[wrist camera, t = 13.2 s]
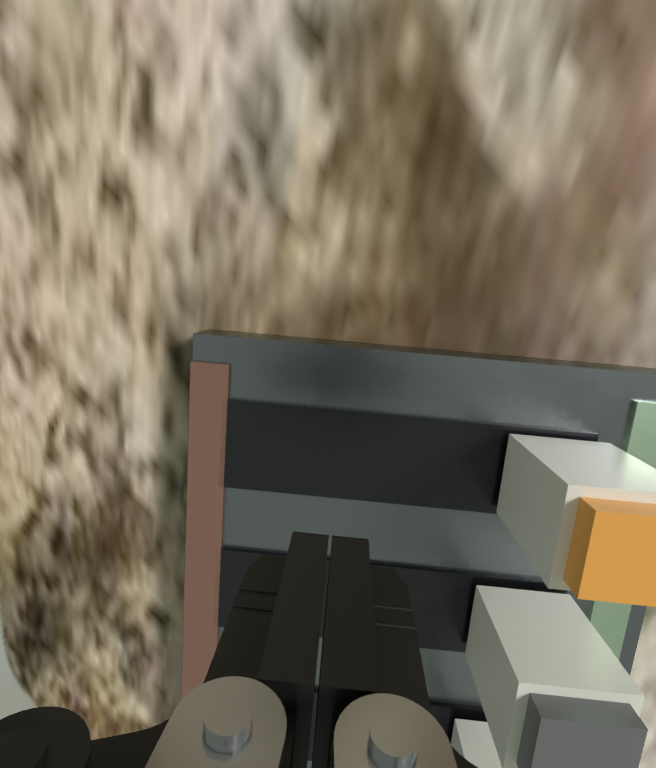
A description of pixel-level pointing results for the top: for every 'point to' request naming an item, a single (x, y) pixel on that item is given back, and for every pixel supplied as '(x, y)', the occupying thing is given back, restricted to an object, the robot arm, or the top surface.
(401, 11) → the top surface
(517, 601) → the breaker
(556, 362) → the breaker board
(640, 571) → the block
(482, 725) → the breaker
